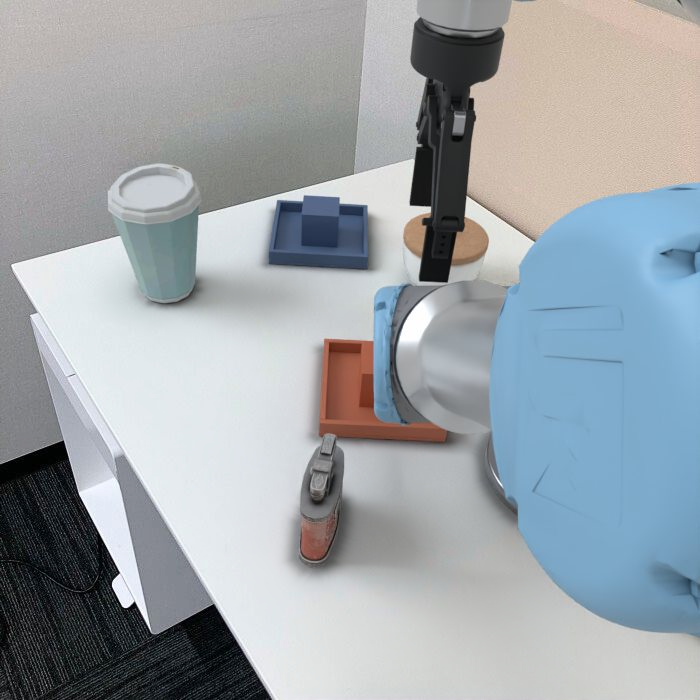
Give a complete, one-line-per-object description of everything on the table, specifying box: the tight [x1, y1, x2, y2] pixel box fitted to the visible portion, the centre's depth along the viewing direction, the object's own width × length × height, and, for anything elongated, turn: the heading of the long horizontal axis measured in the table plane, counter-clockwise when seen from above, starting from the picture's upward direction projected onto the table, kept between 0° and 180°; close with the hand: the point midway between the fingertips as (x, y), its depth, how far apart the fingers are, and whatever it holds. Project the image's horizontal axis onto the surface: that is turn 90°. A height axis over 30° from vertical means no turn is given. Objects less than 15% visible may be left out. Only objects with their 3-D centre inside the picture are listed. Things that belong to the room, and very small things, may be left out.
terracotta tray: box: [318, 338, 448, 443], centre depth 81 cm, size 13×13×2 cm
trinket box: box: [402, 212, 490, 286], centre depth 95 cm, size 11×11×9 cm
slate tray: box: [268, 199, 369, 270], centre depth 103 cm, size 13×13×2 cm
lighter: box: [298, 434, 345, 568], centre depth 65 cm, size 8×3×10 cm, turn 170°
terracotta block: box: [359, 342, 374, 407], centre depth 80 cm, size 5×5×5 cm
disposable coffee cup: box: [107, 162, 202, 304], centre depth 89 cm, size 11×11×15 cm
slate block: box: [301, 194, 341, 247], centre depth 102 cm, size 5×5×5 cm
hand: (427, 240), depth 75 cm, fingers open, 13 cm apart
